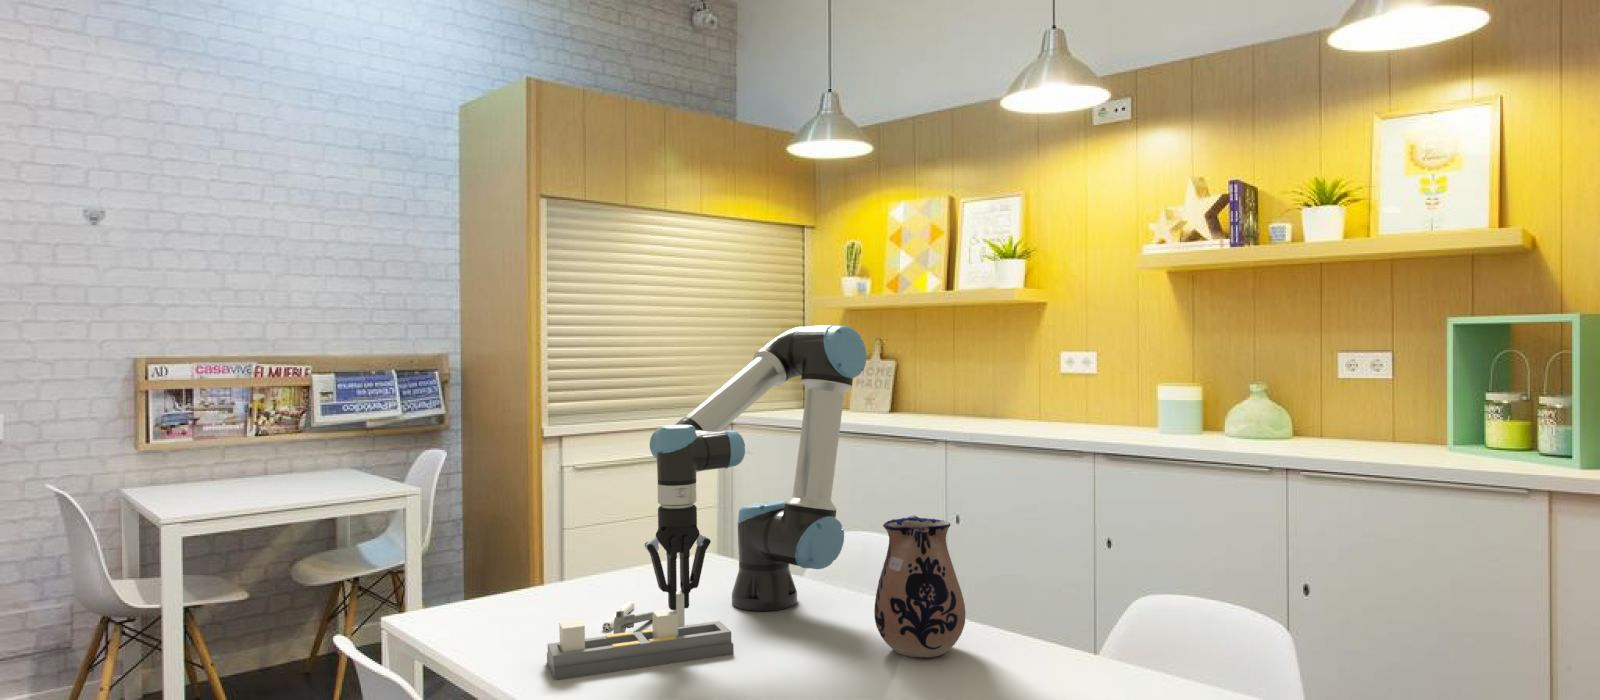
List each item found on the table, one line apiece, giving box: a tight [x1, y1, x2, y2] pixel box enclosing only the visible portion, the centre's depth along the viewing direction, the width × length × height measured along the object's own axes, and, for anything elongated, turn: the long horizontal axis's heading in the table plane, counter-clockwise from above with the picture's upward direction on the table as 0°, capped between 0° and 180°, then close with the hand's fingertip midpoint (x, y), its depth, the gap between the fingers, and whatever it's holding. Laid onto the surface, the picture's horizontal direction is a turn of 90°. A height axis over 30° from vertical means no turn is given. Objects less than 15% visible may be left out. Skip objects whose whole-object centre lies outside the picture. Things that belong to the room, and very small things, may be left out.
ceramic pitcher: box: [874, 514, 966, 658], centre depth 187 cm, size 18×21×25 cm
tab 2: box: [651, 608, 678, 639], centre depth 185 cm, size 4×4×6 cm
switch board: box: [546, 620, 735, 681], centre depth 183 cm, size 34×10×4 cm, turn 113°
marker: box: [601, 600, 635, 631], centre depth 210 cm, size 18×2×2 cm, turn 173°
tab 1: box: [558, 619, 586, 652], centre depth 178 cm, size 4×4×6 cm
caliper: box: [613, 610, 653, 634], centre depth 203 cm, size 20×1×6 cm, turn 162°
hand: (679, 625), depth 186 cm, fingers closed
